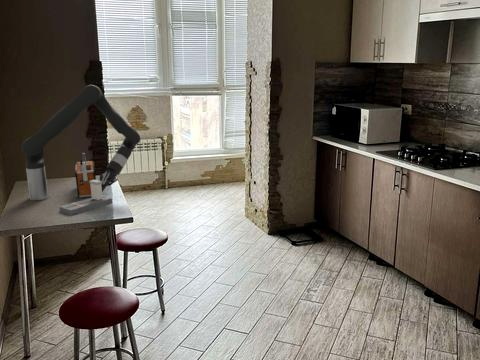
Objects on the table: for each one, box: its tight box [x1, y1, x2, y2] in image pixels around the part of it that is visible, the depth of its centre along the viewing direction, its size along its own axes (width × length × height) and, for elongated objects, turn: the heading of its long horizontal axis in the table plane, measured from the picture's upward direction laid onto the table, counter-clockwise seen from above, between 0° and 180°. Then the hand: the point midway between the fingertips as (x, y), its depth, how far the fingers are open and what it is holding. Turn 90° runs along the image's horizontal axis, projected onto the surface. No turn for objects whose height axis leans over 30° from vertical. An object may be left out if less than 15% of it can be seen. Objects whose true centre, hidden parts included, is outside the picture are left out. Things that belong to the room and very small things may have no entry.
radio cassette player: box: [74, 152, 97, 199], centre depth 257 cm, size 29×10×20 cm, turn 19°
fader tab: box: [90, 179, 103, 200], centre depth 234 cm, size 3×6×9 cm, turn 52°
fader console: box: [59, 195, 113, 216], centre depth 231 cm, size 24×10×3 cm, turn 142°
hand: (99, 191), depth 236 cm, fingers closed
